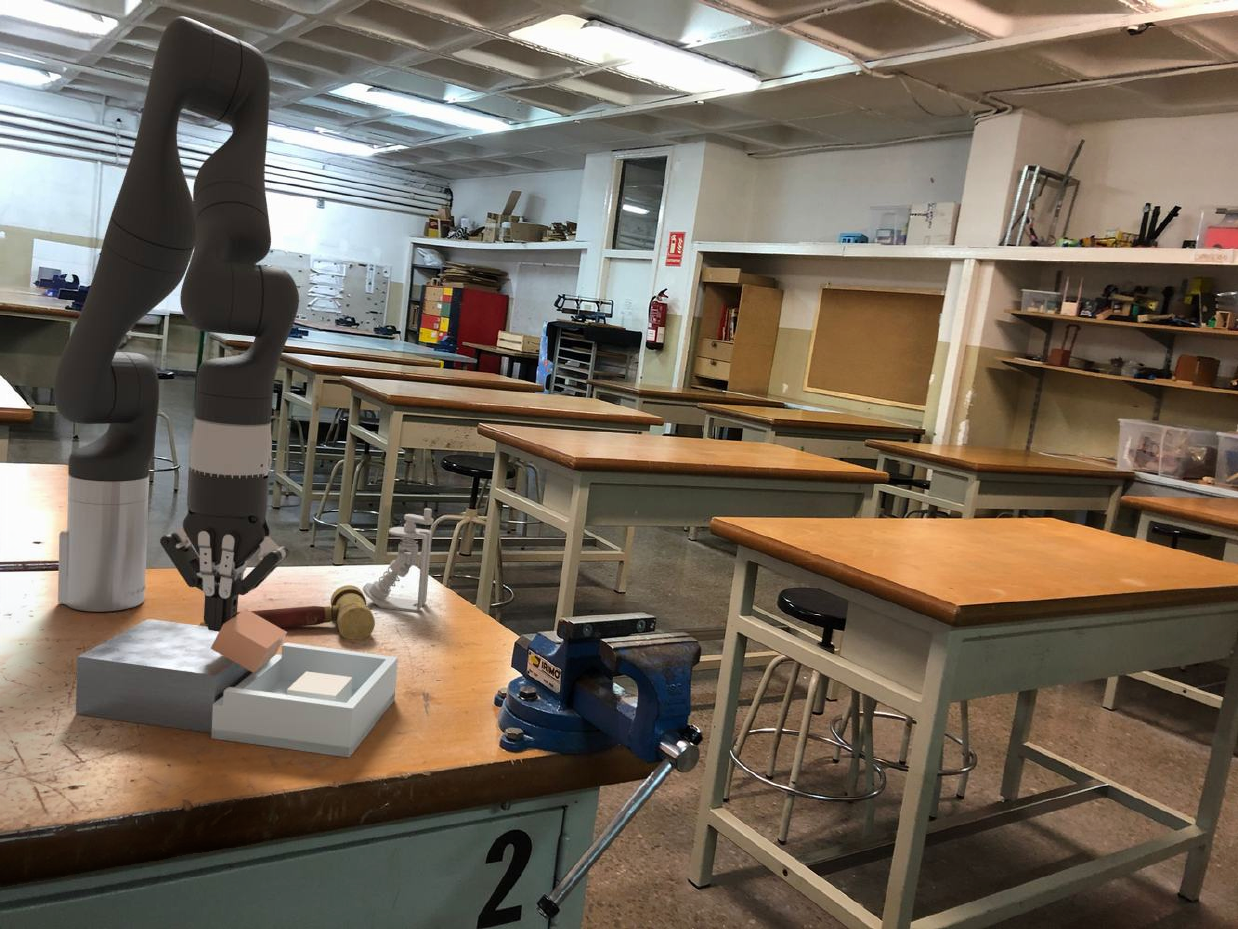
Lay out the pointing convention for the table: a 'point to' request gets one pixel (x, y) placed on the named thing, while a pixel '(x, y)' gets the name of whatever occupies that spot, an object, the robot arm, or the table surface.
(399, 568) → the clamp
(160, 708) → the grey metallic box
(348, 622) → the gavel
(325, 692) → the tile cream
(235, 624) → the tile terracotta
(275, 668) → the box
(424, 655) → the table surface
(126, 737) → the table surface
